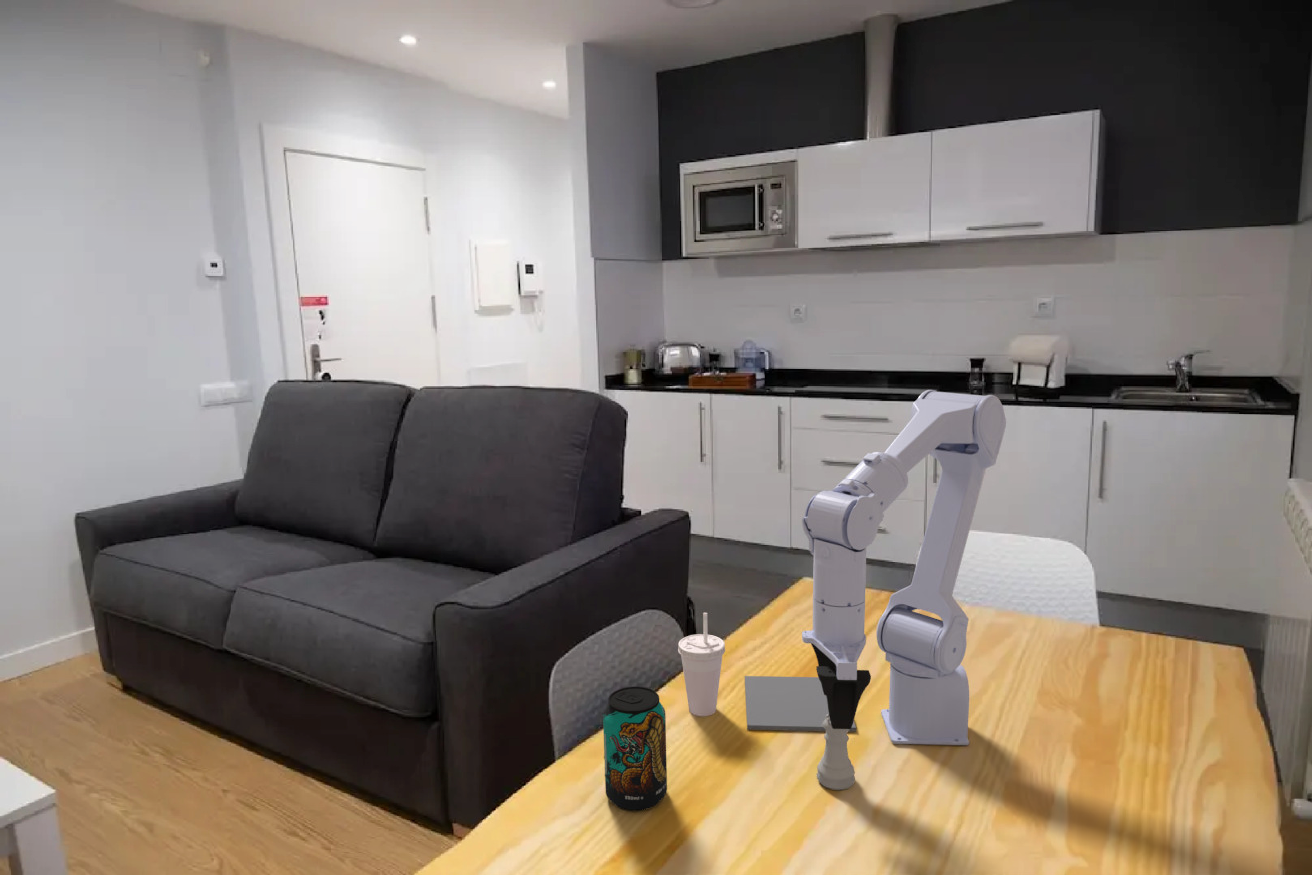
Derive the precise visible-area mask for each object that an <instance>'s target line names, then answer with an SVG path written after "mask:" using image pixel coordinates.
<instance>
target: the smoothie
mask: <svg viewBox="0 0 1312 875" xmlns="http://www.w3.org/2000/svg"><path fill="white" fill-rule="evenodd" d="M702 614H703V615H702V616H703V618H702V622H703V625H702V626H703V630H702V631H703V634H702V633H698V634H690V635H688V636H685V637H683V638H681V639H680V640H679V641H678V650H677V651H678V654H679V655H680V656H681V664H682V665H681V666H682V670H683V678H684V684H685V692H686V697H687V698H686V699H687V705H688V711H689V713H691V715H693V716H697V717H708V716H711V715H713V714H714V713H715V712H716V711H717V704H718V696H719V689H720V688H719V686H720V678H721V672H722V671H721V670H722V665H723V664H722V662H723V656H724V653H726V644H725V641H724V640H723V639H722V638H720V637H718V636H716V635H712V634H708V627H709V626H708V612H703V613H702Z"/></svg>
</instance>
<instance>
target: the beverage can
mask: <svg viewBox="0 0 1312 875" xmlns="http://www.w3.org/2000/svg"><path fill="white" fill-rule="evenodd" d="M607 700H608V702H607V704H606V706H605V708H604V711H603V713H602V722H603V724H602V725H603V727H602V728H603V750H604V751H603V752H604V753H603V754H604V758H603V759H604V780H605V781H604V782H605V787H604V788H605V794H606V798H607V799H608V800H609V801H610V802H611V803H613V805H615V806H616V808H619V809H621V810H625V811H630V812H639V811H640V812H641V811H646V810H649V809H651V808H653V807H655V806H657V805H658V804H659V803H660V802H661V801H662V800H663V799H664V798H665V796H666V794H667V790H668V775H667V774H668V773H667V772H668V770H667V731H666V730H667V729H666V728H667V727H666V724H667V723H666V718H667V717H666V710H665V707H664V706H663V704H662V703H661V702H660V695H659V694H658V692H656V691H655V690H653V689H651V688H648V687H645V686H627V687H622V688H618V689H616V690H614V691H613V692H611V694H610V695H609V697H608V699H607Z"/></svg>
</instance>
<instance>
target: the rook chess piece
mask: <svg viewBox="0 0 1312 875" xmlns="http://www.w3.org/2000/svg"><path fill="white" fill-rule="evenodd" d="M822 725H823V727H824V729H825V730H826V731H825V734H824V735H823V737H824V739H825V745H824V746H825V747H824V752H823V756H822V757H821V759H820V761H819V762H818V764H817V767H816V768H817V769H816V770H817V772H816V779H817V780H818V782H819V783H820V784H821V785H822V787H825V788H826V789H828V790H831V791H832V790H833V791H844V790H848V789H849V788H851V787H852V786H853V785H854V784H855V782H856V776H855V773H856V772H855V767H854V765H853V764H852V761H851V759H850V758H849V751H848V742H849V739H850V737H849V735H848V733H849V732H848V731H849V730H850V729H833V728H832V725H831V722H830V717H829V715H828V714H827V715H826V719H825V720H824V721H823V723H822Z"/></svg>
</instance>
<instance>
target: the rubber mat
mask: <svg viewBox="0 0 1312 875" xmlns="http://www.w3.org/2000/svg"><path fill="white" fill-rule="evenodd" d="M744 690H745V691H744V692H745V710H746V711H745V714H746V729H747V730H752V731H753V730H756V731H757V730H759V731H798V732H799V731H802V732H806V731H808V732H826V730H825V729H824V727H823V725H822V723H823V721H824V720H825V719H826V715H827V714H828V715H829V711H828V704H827V697H826V695H824V692H823V689H822V684H821V682H820V680H819V677H818V676H817V677H816V676H813V677H812V676H772V675H771V676H768V675H767V676H765V675H763V676H761V675H759V676H758V675H744ZM850 732H851V733H853V732H854V733H856V732H857V727H856V723H855V721H854V722H853V725H852V727H851V729H850V730H849V731H848V732H847V733H850Z"/></svg>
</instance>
